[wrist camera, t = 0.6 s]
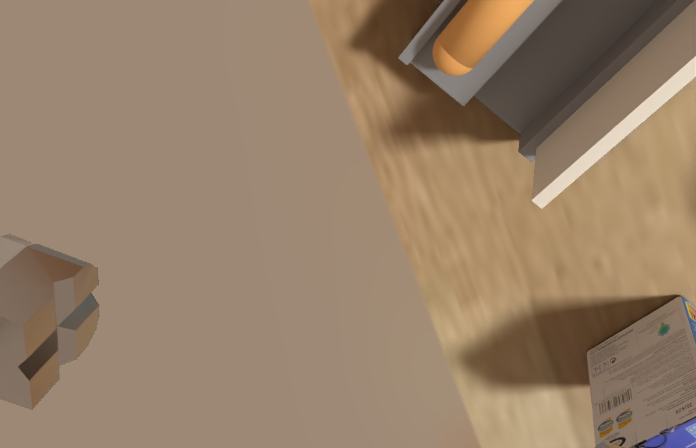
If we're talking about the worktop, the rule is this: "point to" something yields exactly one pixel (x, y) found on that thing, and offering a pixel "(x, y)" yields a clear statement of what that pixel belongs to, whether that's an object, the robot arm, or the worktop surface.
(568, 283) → the worktop surface
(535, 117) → the grooved grey base
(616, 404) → the ink cartridge box
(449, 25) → the orange capsule pill
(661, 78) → the cover
